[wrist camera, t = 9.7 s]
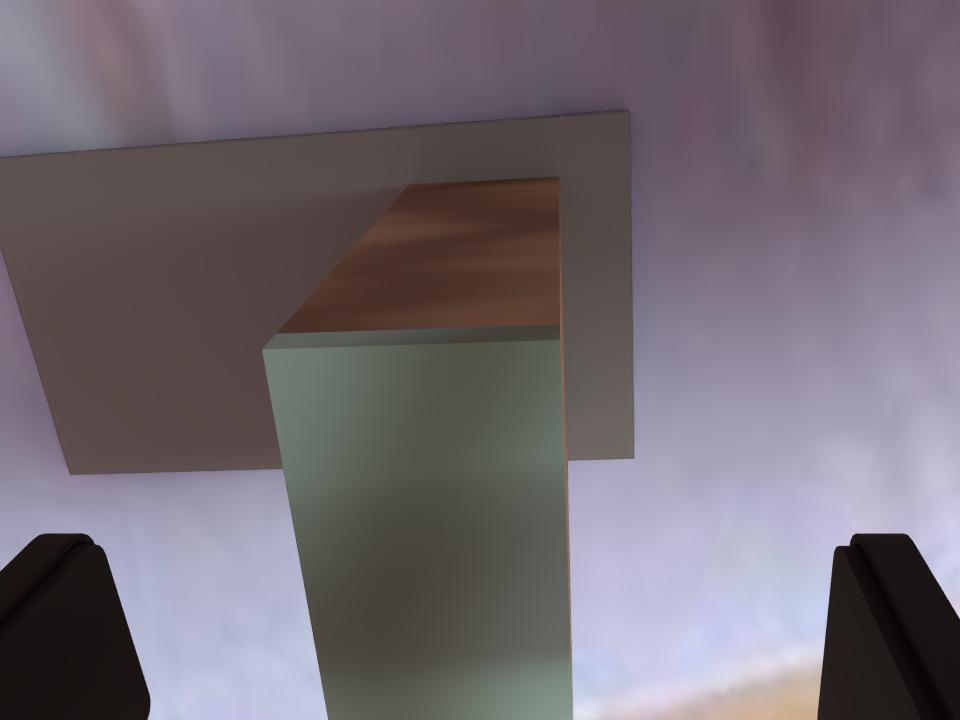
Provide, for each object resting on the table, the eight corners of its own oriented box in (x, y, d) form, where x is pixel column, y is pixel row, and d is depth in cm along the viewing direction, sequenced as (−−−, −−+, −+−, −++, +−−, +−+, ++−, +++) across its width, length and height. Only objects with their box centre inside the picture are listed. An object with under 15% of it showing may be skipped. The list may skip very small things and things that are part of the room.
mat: (627, 110, 22) (629, 112, 21) (632, 448, 25) (634, 458, 25) (-13, 158, 24) (-26, 161, 23) (80, 465, 27) (69, 475, 27)
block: (559, 176, 22) (560, 339, 11) (566, 415, 24) (573, 744, 13) (409, 184, 22) (262, 349, 11) (432, 418, 25) (332, 740, 14)
